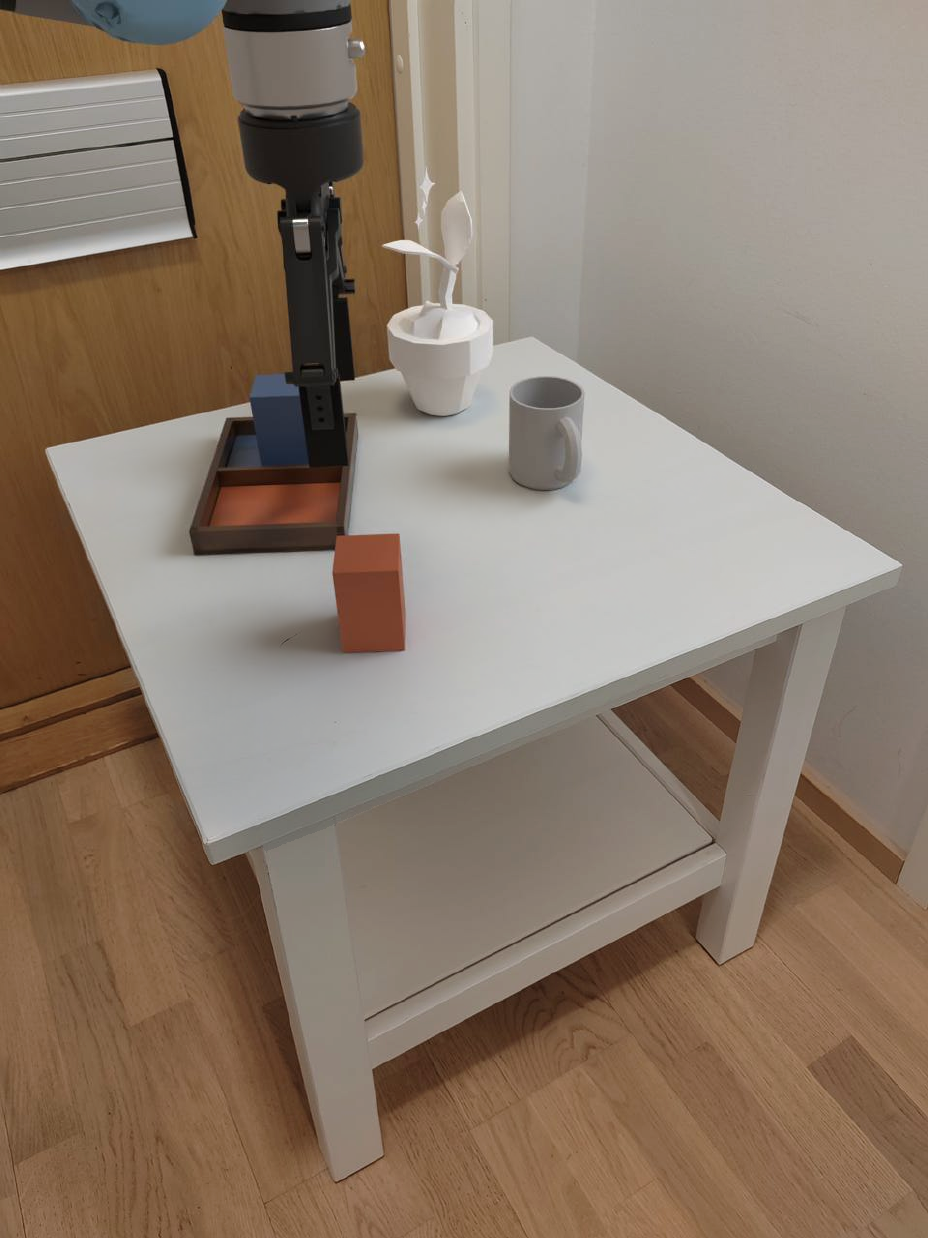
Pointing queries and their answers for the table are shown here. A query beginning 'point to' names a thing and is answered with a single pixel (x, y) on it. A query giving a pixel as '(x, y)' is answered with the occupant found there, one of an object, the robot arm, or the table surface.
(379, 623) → the terracotta bar
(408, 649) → the table surface
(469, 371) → the potted plant
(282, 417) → the blue bar
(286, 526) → the tray
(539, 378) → the cup
